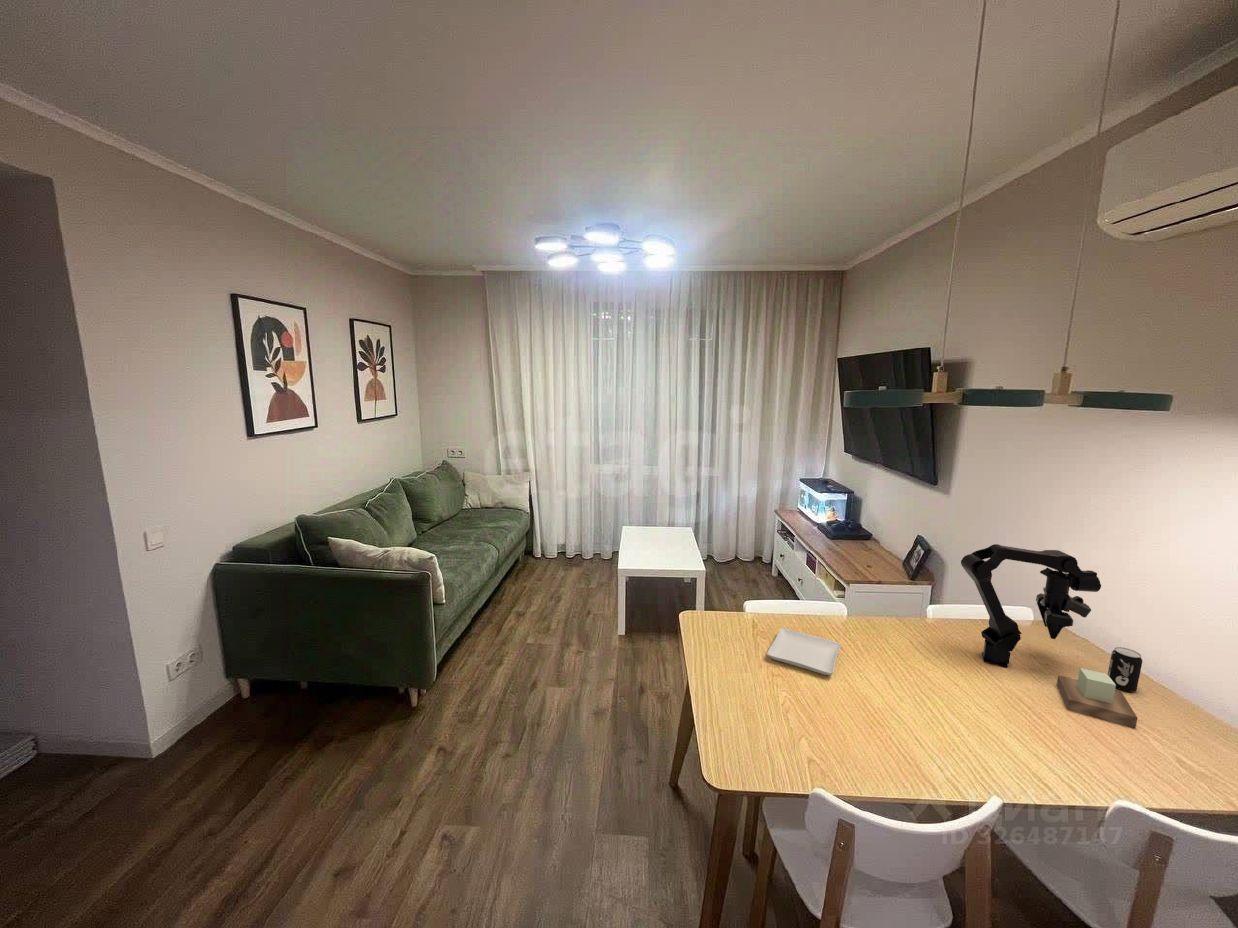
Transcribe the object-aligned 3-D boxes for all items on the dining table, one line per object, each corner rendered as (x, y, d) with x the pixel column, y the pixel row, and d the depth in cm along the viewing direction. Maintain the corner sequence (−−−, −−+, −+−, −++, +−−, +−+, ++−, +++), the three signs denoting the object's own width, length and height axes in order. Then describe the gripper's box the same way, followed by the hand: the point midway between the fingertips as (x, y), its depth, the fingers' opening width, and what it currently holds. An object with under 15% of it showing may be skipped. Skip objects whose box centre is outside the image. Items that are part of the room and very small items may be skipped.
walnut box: (1066, 711, 137) (1068, 699, 137) (1056, 686, 149) (1058, 674, 148) (1134, 730, 130) (1137, 717, 129) (1118, 702, 141) (1120, 690, 141)
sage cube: (1084, 697, 138) (1087, 678, 137) (1076, 685, 143) (1079, 668, 142) (1112, 703, 135) (1115, 684, 134) (1103, 691, 140) (1106, 673, 139)
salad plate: (832, 682, 150) (833, 672, 150) (765, 662, 161) (766, 653, 161) (840, 651, 168) (841, 642, 168) (780, 634, 179) (780, 626, 179)
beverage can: (1142, 694, 144) (1149, 658, 142) (1117, 691, 145) (1124, 656, 143) (1124, 681, 150) (1131, 647, 148) (1100, 678, 152) (1106, 644, 150)
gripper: (1099, 606, 143) (1090, 652, 145) (1082, 584, 158) (1075, 627, 161) (1050, 597, 149) (1043, 642, 151) (1039, 577, 164) (1032, 618, 167)
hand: (1049, 632), depth 157 cm, fingers open, 9 cm apart
